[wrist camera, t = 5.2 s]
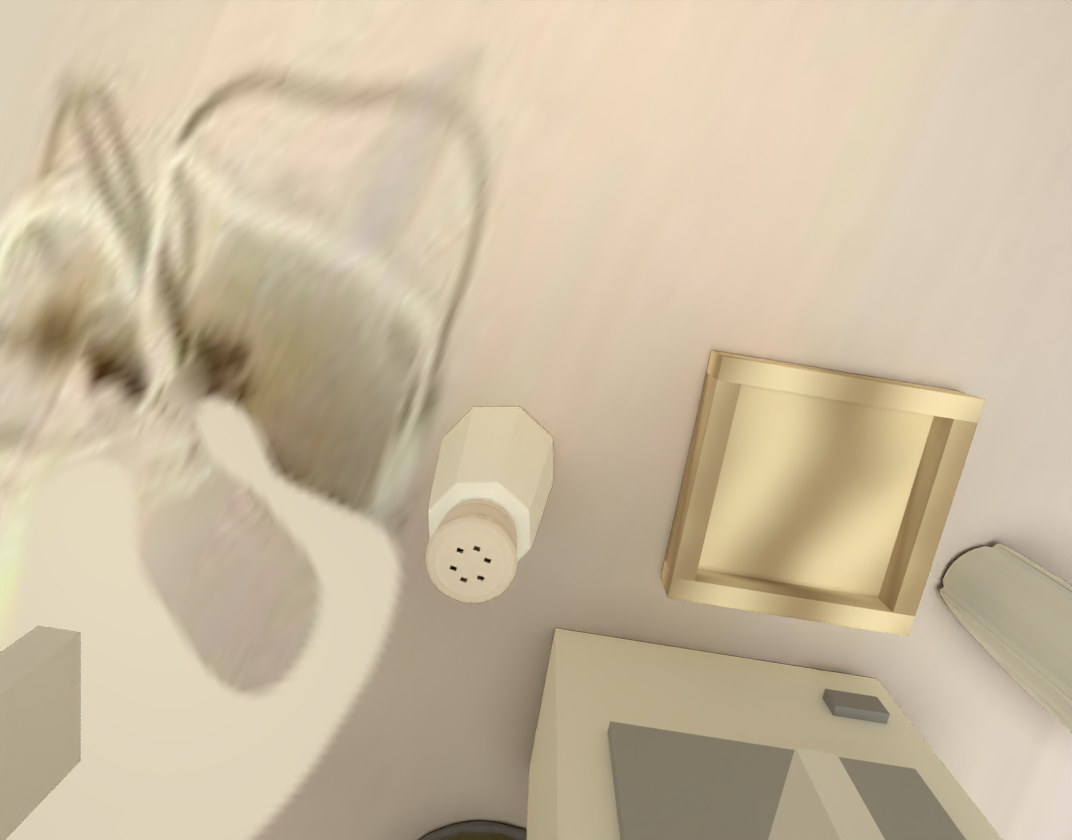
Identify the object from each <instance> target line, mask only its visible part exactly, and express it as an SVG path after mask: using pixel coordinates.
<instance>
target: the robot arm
mask: <svg viewBox="0 0 1072 840" xmlns="http://www.w3.org/2000/svg"><path fill="white" fill-rule="evenodd" d="M79 761H80V632H75V631H69V630H63V629H56V628H50V627H44V626H37V627H36V628H34V629H33V630H31V631H30V632H29V633H27V634H26V635H24V636H23V637H22V638H20V639H19V640H17V641H16V642H14V643H13V644H12V645H10V646H9V647H7V648H6V649H5V650H3V651H2V652H0V840H5V839H6V838H7V837H8V836H9V835H10V834H11V833H12V832H13V831H14V830H15V829H16V828H17V827H18V826H19V825H20V824H21V822H22V821H23V820H24V819H25V818H26V817H27V816H28V815H29V814H30V813H31V812H32V811H33V810H34V809H35V808H36V807H37V806H38V805H39V804H40V803H41V801H42V800H43V799H44V798H45V797H46V796H47V795H48V794H49V793H50V792H51V791H52V790H53V789H54V788H55V787H56V786H57V785H58V784H59V783H60V782H61V780H62V779H63V778H64V777H65V776H66V775H67V774H68V773H69V772H70V771H71V770H72V769H73V768H74V767H75V766H76V764H78V763H79ZM768 840H885V839H884V837H883V835H882V833H881V832H880V830H879V828H878V826H877V825H876V823H875V821H874V819H873V817H872V816H871V814H870V812H869V810H868V809H867V807H866V805H865V803H864V802H863V800H862V798H861V796H860V794H859V793H858V791H857V789H856V787H855V786H854V784H853V782H852V780H851V779H850V777H849V775H848V773H847V771H846V770H845V768H844V766H843V764H842V763H841V761H840V759H839V757H838V756H837V754H832V753H826V752H820V751H813V750H807V749H801V748H795V751H794V754H793V757H792V761H791V764H790V768H789V771H788V774H787V778H786V781H785V785H784V788H783V791H782V795H781V798H780V801H779V805H778V808H777V812H776V815H775V818H774V822H773V825H772V828H771V832H770V835H769V839H768Z"/></svg>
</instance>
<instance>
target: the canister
mask: <svg viewBox="0 0 1072 840" xmlns="http://www.w3.org/2000/svg"><path fill="white" fill-rule="evenodd" d="M526 837H527V831H526V830H524V829H520V828H516V827H512V826H508V825H504V824H499V823H495V822H481V821H474V822H466V823H459V824H453V825H450V826H448V827H445V828H442V829H440V830H437V831H435V832H433V833H430V834H428V835H426V836H425V837H423V838H422V839H420V840H526Z"/></svg>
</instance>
